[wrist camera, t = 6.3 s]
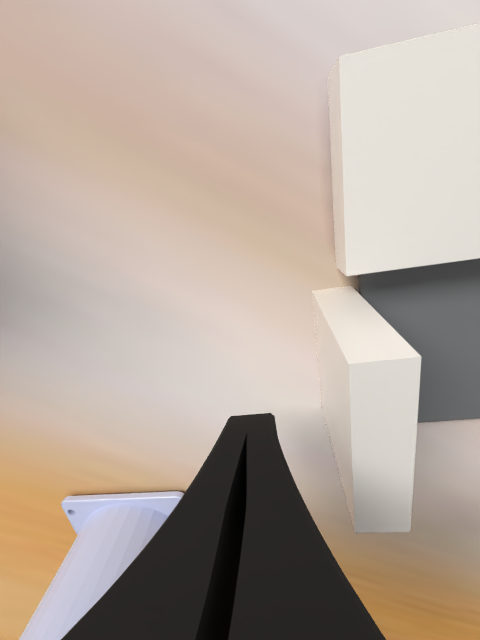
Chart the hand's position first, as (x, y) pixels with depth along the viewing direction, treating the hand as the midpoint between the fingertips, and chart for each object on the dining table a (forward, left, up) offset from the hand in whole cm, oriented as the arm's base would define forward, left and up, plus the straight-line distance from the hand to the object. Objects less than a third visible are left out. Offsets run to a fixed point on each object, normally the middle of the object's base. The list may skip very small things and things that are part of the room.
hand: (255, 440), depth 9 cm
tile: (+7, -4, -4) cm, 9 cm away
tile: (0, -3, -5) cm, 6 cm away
